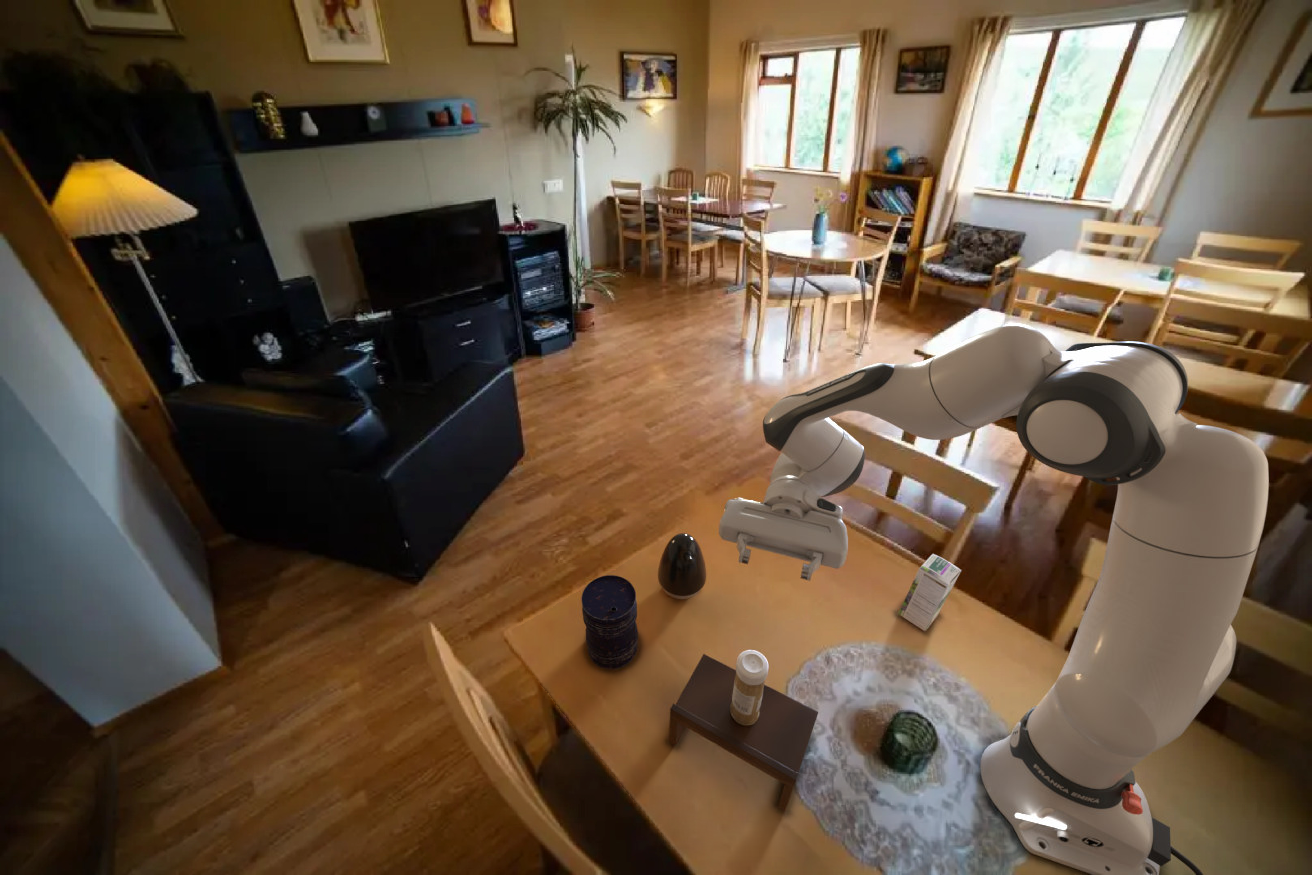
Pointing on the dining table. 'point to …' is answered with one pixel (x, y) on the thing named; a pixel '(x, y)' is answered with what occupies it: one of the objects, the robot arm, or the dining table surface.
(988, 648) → the dining table surface
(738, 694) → the sprinkles bottle
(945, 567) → the syrup box
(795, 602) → the dining table surface
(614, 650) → the storage jar
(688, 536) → the black egg-shaped piece
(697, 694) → the desk shelf
